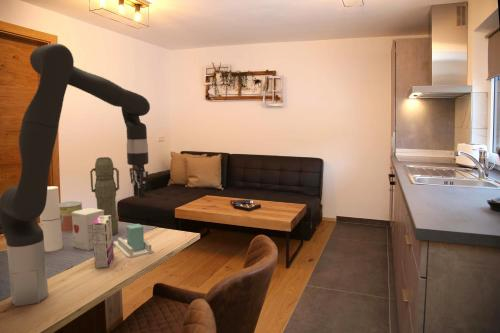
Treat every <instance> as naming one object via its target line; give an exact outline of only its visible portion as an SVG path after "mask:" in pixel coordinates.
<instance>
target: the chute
mask: <svg viewBox="0 0 500 333" xmlns="http://www.w3.org/2000/svg"><path fill="white" fill-rule="evenodd" d="M113 246H115V247H116V248H117V249H118V250H119V251H120V252H121V253H122V254H123V255H124V256H125V258H127V259H131V258H136V257H139V256H141V257H142V256H144V255H150V254H153V253H154V252H155V251H154V250H153V249H152V244H151V243H150V242H148V241H147V240H146V239H144V249H140V250H136V251H133V248H132V247H131V246H129V245H128V244H127V238H126V239H125V238H124V239H123V238H122V237H117V240H116V241H113Z"/></svg>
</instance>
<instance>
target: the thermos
mask: <svg viewBox="0 0 500 333" xmlns="http://www.w3.org/2000/svg"><path fill="white" fill-rule="evenodd" d="M119 171H120V170H119V169H118V168H117V167H114V163H113V160H112V158H111V157H109V156H108V157H107V156H106V157H105V156H104V157H103V156H102V157H98V158H96V160H95V164H94V168H91V170H90V171H89V173H90V175H89V176H90V187H91V188H90V189H91V192H92V193H94V196H95V199H96V209H100V210H104V215H111V223H112V237H115V236H116V235H118V234H119V230H118V229H119V222H118V218H117V204H116V197H117V192H118V190H120V172H119ZM93 172H95V182H94V179H93V178H94V177H93ZM114 172H116V174H115V173H114ZM114 174H115V175H116V182H115V177H114Z"/></svg>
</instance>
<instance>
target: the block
mask: <svg viewBox="0 0 500 333" xmlns="http://www.w3.org/2000/svg"><path fill="white" fill-rule="evenodd" d="M144 234H145V233H144V226H143V225H141V224H140V223H135V224H130V225H126V239H127V244H128V245H129V246H131V247H132V248H133V251H136V250H140V249H144V240H145V235H144Z"/></svg>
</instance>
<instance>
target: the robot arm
mask: <svg viewBox="0 0 500 333" xmlns="http://www.w3.org/2000/svg"><path fill="white" fill-rule="evenodd" d="M29 62H30V66H31V67H32V69H33V71H34V72H36V73H37V74H38V75H40V77H39V83H38V87H37V90H36V92H35V94H34V96H33V98H32V99H31V100H30V103H29V104H28V106H27V108H26V110H25V111H24V114H23V116H22V120H21V124H20V125H21V126H20V130H19V134H18V147H19V148H18V149H19V155H20V162H21V172H20V177H19V181H18V185H14V186H13V185H12V186H11V187H8V188H6V189H5V190H4V191H3V192H2V194H1V195H0V224H1V230H2V233H3V236H4V238H5V243H6V252H7V262H8V263H7V264H8V275H9V284H10V285H9V286H10V294H11V296H10V297H11V303H12V304H14V307H19V306H20V307H21V306H26V305H34V304H38V303H39V304H40V302H41V301H42V300H45V299H46V298H47V297H48V295H49V287H48V286H49V285H48V276H47V275H48V273H47V263H46V261H47V260H46V251H45V247H44V235H43V230H42V229H41V225H40V224H39V223H38V220H37V219H38V218H40V215H41V214H42V212H43V211H44V209H45V206H46V199H47V188H48V187H49V186H48V185H49V177H50V175H49V174H50V170H51V164H52V161H53V160H52V159H53V154H54V148H55V144H56V140H57V136H58V131H59V125H60V119H61V116H62V115H61V114H62V110H63V104H64V100H65V95H66V91H67V88H68V86H71V87H74V88H76V89H78V90H81V91H82V92H85V93H87V94H90V95H91V96H93V97H95V98H98V99H99V100H101V101H103V102H104V103H107V104H109V105H111V106H113V107H118V108H121V109H120V110H121V114H122V118H123V121H124V124H125V127H126V160H127V162H126V163H127V165H129V166H131V167H130V168H129V176H130V183H131V184H132V186H133V195H134V197H138V198H139V199H145V198H146V189H145V188H146V187H147V188H148V181H149V180H148V179H149V177H148V176H149V171H148V170H147V171H146V169H145V165H148V164H149V144H148V136H147V134H148V133H147V125H146V124H145V123H143V122H141V119H140V117H143V116H146V115H147V114H148V113H149V112H150V109H151V104H150V102H149V100H148V99H147V98H146V97H145V96H143V95H141V94H140V93H137V92H134V91H132V90H128V89H125V88H123V87H122V86H120V85H118V84H116V83H115V82H113V81H111V80H109V79H107V78H105V77H103V76H99V75H96V74H94V73H91V72H88V71H85V70H83V69H80V67H79V68H78V67H76V66H75V64H74V62H75V61H74V56H73V54H72V51H71V50H70V49H69V48H68V46H65V45H64V44H62V43H49V44H45V45H42V46H39V47H37V48H35V49H33V50H32V52H31V54H30V56H29Z"/></svg>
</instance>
